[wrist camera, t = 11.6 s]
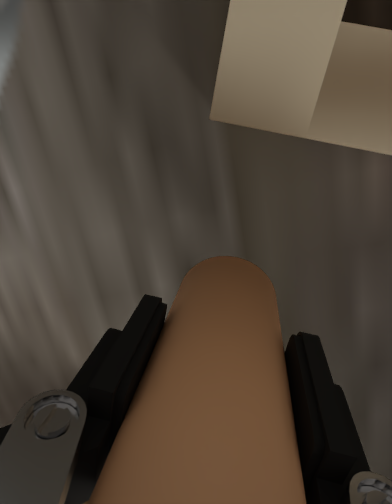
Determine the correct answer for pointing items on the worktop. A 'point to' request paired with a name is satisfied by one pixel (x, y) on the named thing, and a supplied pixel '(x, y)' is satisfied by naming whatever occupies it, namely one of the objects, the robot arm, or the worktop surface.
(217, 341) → the dowel
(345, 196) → the worktop surface
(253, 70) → the beige square ring
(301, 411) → the robot arm
